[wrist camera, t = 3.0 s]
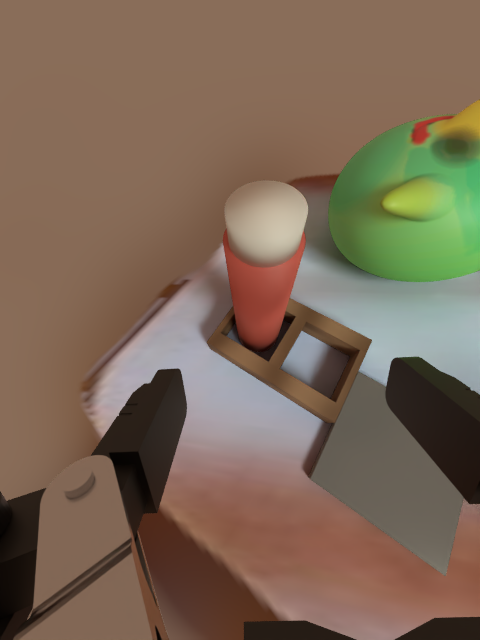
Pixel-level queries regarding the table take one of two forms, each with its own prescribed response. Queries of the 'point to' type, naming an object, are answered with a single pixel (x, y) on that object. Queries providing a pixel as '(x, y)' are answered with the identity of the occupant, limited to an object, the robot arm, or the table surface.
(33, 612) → the robot arm
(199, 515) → the table surface
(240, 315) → the pepper mill
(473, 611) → the table surface
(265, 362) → the caddy
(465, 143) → the toy bird
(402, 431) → the slate tile
